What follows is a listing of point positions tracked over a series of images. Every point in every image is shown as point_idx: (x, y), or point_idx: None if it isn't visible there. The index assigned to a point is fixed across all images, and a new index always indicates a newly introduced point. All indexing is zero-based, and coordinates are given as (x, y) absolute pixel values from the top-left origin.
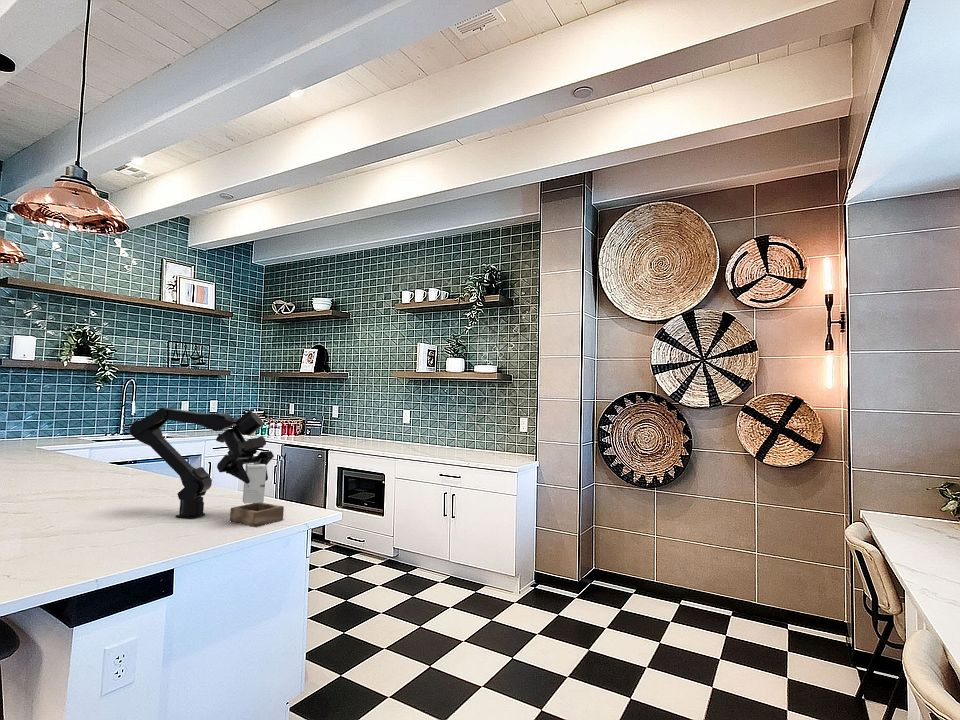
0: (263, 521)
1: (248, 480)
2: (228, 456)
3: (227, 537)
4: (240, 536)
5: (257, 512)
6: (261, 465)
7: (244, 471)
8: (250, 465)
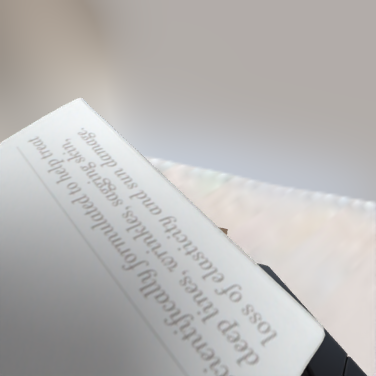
0: None
1: (270, 271)
2: None
3: (359, 247)
4: (327, 219)
5: (223, 229)
6: (114, 145)
7: (323, 361)
8: (242, 315)
